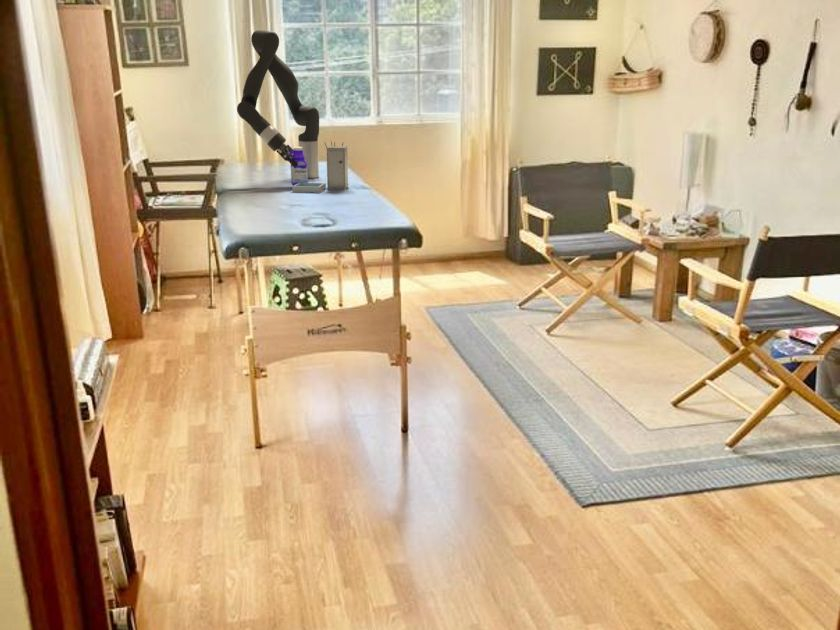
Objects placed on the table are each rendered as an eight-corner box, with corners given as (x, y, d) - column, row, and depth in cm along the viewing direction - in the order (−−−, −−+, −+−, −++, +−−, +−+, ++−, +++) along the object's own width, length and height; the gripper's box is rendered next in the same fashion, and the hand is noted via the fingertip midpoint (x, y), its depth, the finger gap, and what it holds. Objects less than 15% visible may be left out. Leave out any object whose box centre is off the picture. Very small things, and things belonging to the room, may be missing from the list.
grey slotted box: (330, 187, 361) (329, 146, 356) (348, 187, 360) (347, 146, 355) (327, 189, 354) (326, 147, 349) (345, 189, 353) (344, 148, 348)
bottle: (294, 187, 358) (292, 148, 353) (289, 186, 363) (288, 146, 358) (309, 186, 361) (308, 147, 356) (305, 185, 366) (303, 146, 361)
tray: (299, 188, 357) (298, 182, 356) (325, 188, 356) (325, 183, 355) (292, 192, 346) (292, 186, 345) (319, 192, 345) (319, 187, 344)
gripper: (273, 133, 349) (300, 160, 351) (282, 130, 362) (308, 157, 365) (262, 145, 351) (289, 172, 353) (271, 142, 365) (297, 168, 367)
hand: (298, 164), depth 359 cm, fingers open, 8 cm apart
